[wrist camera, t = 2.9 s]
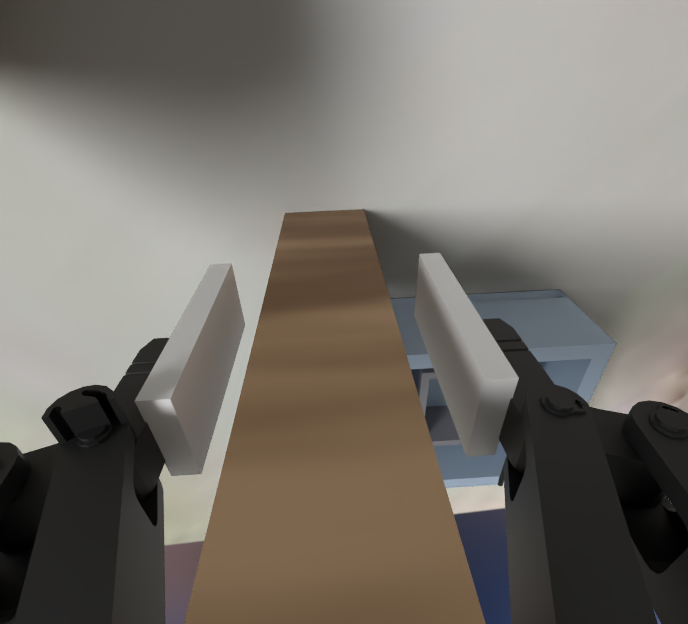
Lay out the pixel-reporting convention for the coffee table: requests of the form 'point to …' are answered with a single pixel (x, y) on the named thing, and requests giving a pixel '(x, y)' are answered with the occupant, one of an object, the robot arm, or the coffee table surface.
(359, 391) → the long wooden beam
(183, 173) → the coffee table surface
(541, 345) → the light blue square bin
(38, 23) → the coffee table surface
